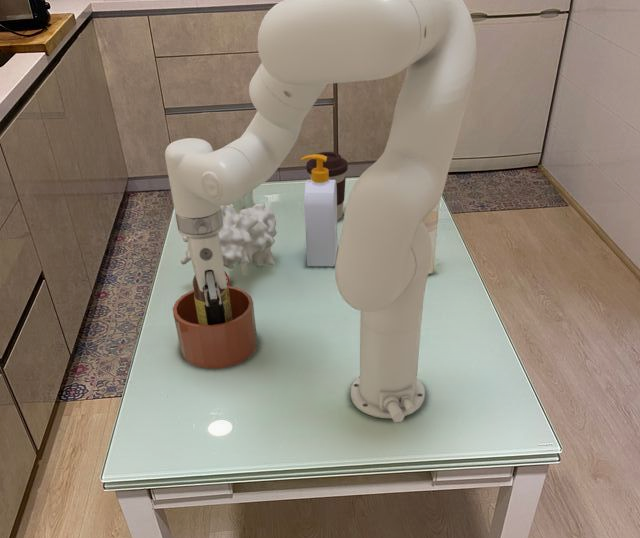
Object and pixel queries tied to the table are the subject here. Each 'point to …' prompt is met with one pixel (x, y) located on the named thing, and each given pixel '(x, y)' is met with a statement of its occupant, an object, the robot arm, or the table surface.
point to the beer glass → (244, 203)
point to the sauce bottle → (201, 302)
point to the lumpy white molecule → (245, 236)
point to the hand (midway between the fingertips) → (214, 312)
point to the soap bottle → (320, 215)
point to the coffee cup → (333, 175)
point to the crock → (216, 332)
